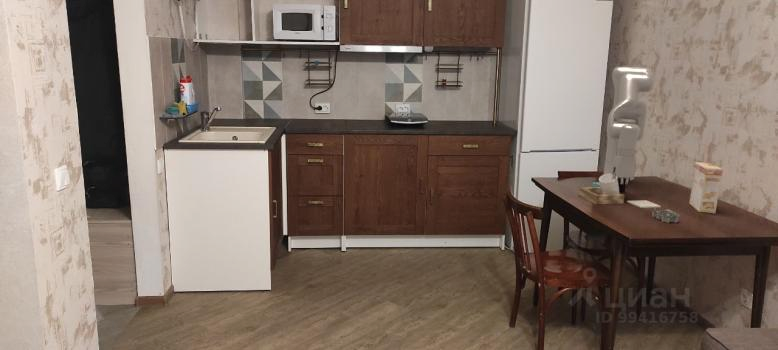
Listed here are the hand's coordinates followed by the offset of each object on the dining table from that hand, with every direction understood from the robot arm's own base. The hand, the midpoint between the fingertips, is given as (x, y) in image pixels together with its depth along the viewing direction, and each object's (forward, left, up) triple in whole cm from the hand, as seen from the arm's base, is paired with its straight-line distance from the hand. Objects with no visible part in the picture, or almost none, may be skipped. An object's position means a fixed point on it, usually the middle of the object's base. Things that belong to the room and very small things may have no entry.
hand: (621, 192), depth 273 cm
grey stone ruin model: (0, +30, -4) cm, 30 cm away
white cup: (+4, -1, -2) cm, 4 cm away
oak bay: (+9, -1, -4) cm, 10 cm away
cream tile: (-6, +9, -4) cm, 11 cm away
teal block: (+3, -12, -4) cm, 13 cm away
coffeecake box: (-30, +17, -4) cm, 34 cm away
